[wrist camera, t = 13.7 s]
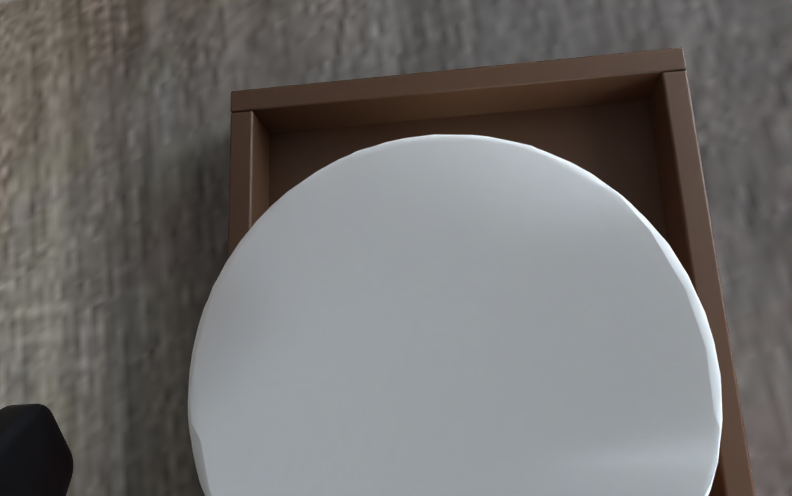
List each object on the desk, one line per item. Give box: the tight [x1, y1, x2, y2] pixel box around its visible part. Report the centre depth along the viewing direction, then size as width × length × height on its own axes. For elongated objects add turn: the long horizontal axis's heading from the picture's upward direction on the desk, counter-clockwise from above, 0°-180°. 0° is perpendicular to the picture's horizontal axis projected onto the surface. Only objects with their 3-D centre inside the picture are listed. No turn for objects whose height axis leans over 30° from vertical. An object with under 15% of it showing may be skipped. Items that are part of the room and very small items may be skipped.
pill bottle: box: [188, 134, 723, 496], centre depth 11 cm, size 6×6×11 cm
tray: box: [227, 47, 755, 496], centre depth 16 cm, size 16×11×2 cm
